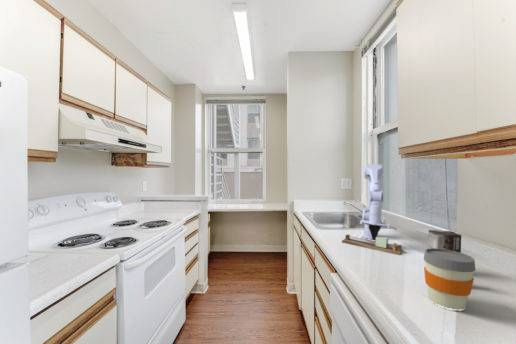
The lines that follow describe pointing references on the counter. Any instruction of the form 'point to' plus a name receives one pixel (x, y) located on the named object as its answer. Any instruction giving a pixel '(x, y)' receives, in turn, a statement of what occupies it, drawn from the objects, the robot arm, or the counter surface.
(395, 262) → the counter surface
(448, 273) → the reusable coffee cup
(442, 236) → the coffee box
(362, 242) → the rod board
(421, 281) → the counter surface
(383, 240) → the sleeve
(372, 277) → the counter surface
